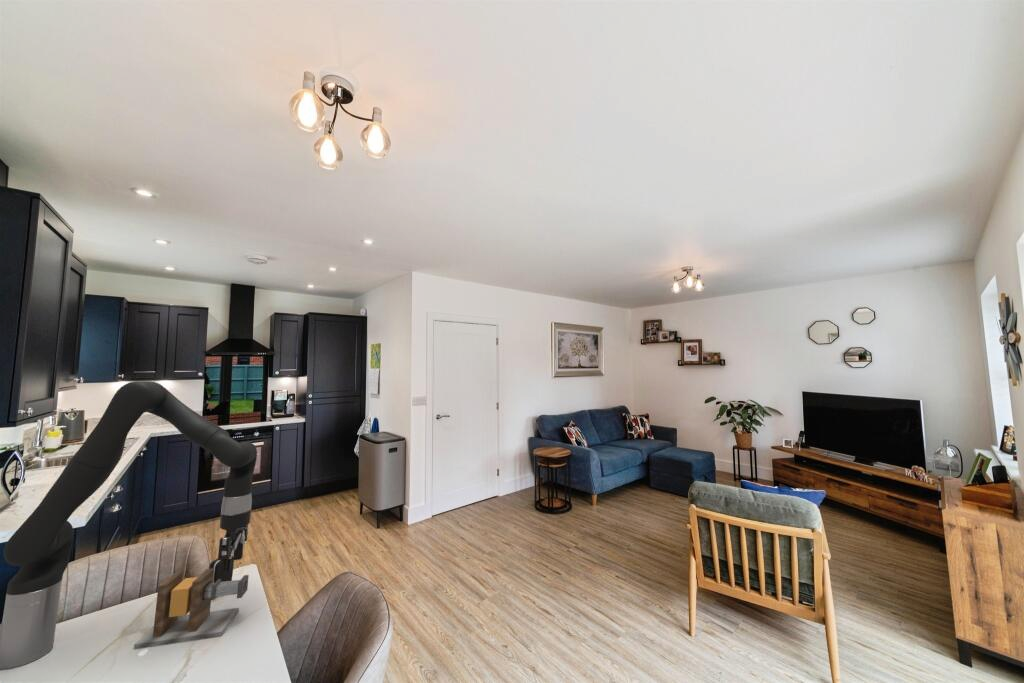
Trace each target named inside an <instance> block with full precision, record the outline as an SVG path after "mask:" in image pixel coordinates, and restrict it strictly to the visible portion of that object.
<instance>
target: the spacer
mask: <svg viewBox="0 0 1024 683" xmlns="http://www.w3.org/2000/svg"><path fill="white" fill-rule="evenodd" d="M198 577H199V576H194V577H185V578H184V579H182V582H181V583H179V584H178V585H177V586H176V587H175V588H174V589H173V590H172V592H171V601H170V611H169V617H174V616H182V615H188V614H189V612H190V602H191V600H190V591H191V590H192V582H193V581H194V580H195V579H196V578H198Z"/></svg>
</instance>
